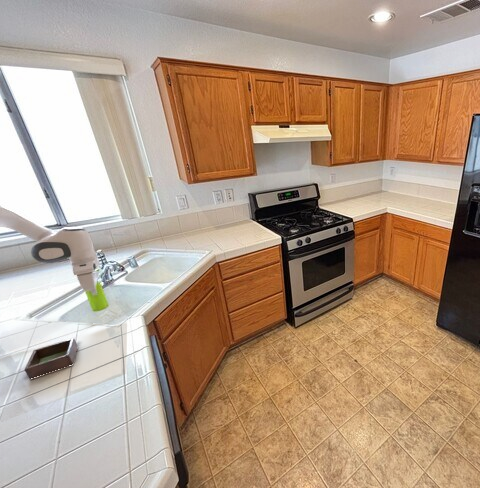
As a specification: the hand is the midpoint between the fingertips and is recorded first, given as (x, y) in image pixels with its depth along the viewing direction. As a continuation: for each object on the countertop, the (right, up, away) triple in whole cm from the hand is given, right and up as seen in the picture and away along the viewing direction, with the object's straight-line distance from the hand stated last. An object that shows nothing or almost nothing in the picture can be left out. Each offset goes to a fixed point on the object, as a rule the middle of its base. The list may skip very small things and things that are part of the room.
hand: (95, 290), depth 118 cm
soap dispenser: (0, -10, +4) cm, 10 cm away
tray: (+9, -21, -26) cm, 34 cm away
